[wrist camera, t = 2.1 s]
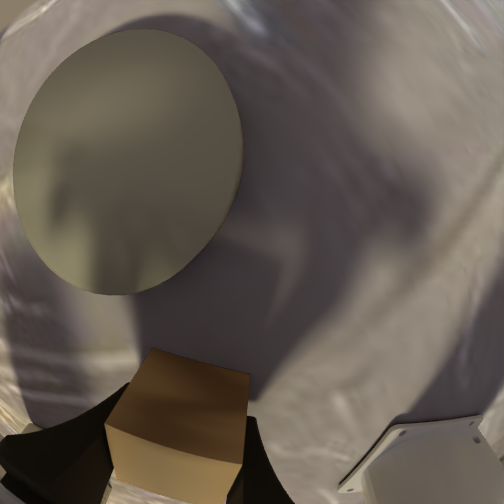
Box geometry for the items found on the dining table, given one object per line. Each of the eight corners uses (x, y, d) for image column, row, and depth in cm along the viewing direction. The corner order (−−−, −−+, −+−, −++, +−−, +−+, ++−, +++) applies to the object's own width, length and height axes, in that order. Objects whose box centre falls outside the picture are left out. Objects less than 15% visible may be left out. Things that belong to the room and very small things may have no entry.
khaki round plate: (271, 60, 9) (272, 36, 7) (214, 304, 11) (204, 328, 9) (69, 56, 9) (46, 44, 7) (34, 248, 11) (8, 258, 9)
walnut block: (250, 374, 12) (242, 464, 7) (230, 433, 13) (219, 508, 8) (152, 348, 11) (104, 423, 7) (149, 410, 12) (117, 479, 8)
